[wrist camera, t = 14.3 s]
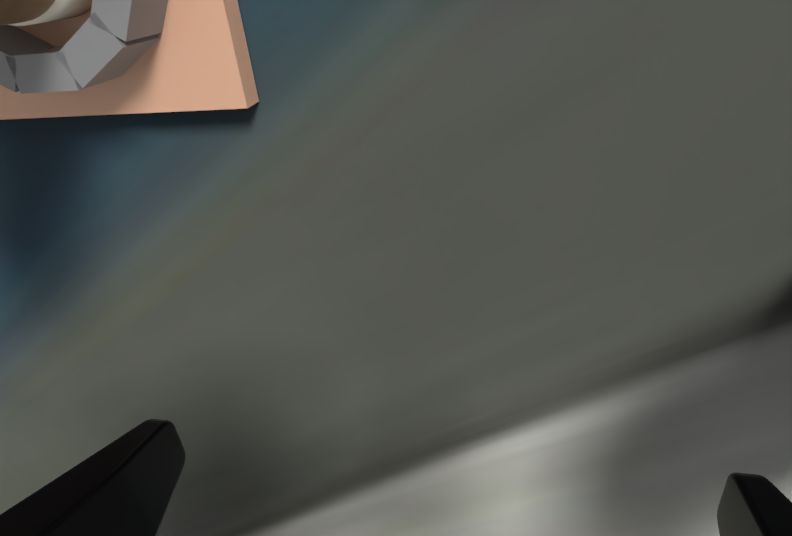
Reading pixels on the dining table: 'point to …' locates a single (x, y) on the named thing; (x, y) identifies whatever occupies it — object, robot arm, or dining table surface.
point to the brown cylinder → (40, 11)
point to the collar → (128, 61)
